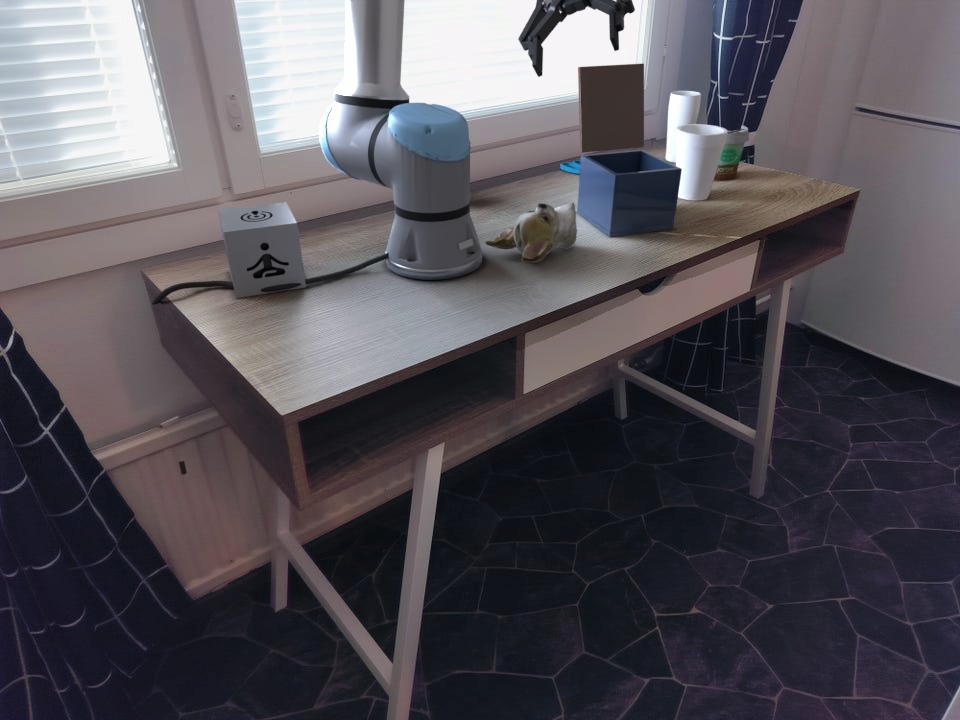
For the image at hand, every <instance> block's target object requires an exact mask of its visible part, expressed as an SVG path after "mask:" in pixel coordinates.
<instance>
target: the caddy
mask: <svg viewBox="0 0 960 720" xmlns="http://www.w3.org/2000/svg"><path fill="white" fill-rule="evenodd" d="M580 160H581V162H580V174H579V179H578V192H577V193H578V194H577V209H576V214H578V215H580V216H581V217H583V218H584V219H585V220H586V221H588V222H589V223H590V224H592V225H593V226H594V227H595V228H597V229H598V230H600V231H601V232H602V233H604V234H605V235H606V236H607V237H609V238H612V237H619V236H627V235H628V236H629V235H636V234H637V235H638V234H644V233H653V232H660V231H668V230H669V231H670V230H674V228H675V220H676V213H677V206H678V199H679V197H678V193H679V186H680V178H681V171H682V169H681V168H679V167H677V166H676V164H674V163H672V162H669V161H667V160H666V159H663V158H660V157H659V156H656V155H654V154H652V153H650V152H648V151H646V150H644V149H635V150H624V151H623V150H622V151H613V152H601V153H600V152H599V153H590V154H580Z"/></svg>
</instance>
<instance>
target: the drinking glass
mask: <svg viewBox="0 0 960 720" xmlns="http://www.w3.org/2000/svg"><path fill="white" fill-rule="evenodd" d="M701 101H702V93H701V92H699V91H694V90H673V91H671V92H670V94H669V101H668V108H667V125H666V126H667V127H666V146H665V161H667V162H669V163H671V164H676V141H675V137H676V130H677V128H678V127H679V126H682V125H686V124H698V119H699V114H700V107H701Z"/></svg>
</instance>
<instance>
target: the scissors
mask: <svg viewBox="0 0 960 720" xmlns="http://www.w3.org/2000/svg"><path fill="white" fill-rule="evenodd" d="M580 162H581V159H574V160H572V161H563V162H561V163H560V165H559V166H560V169H561V170H562V171H565V172H568V173H572V174H576V175H577V174H578V175H580Z"/></svg>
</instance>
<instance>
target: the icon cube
mask: <svg viewBox="0 0 960 720" xmlns="http://www.w3.org/2000/svg"><path fill="white" fill-rule="evenodd" d="M217 214H218V218H219V224H220V230H221V235H222V239H223V245H224V249H225V255H226V260H227V265H228V269H229V274H230V279H231V282H233V286H234V288H233V291H234V295H235V298H236V299H241V298H246V297H247V298H248V297H253V296H260V295H267V294H272V293H278V292H279V293H280V292H286V291H291V290H298V289H306V287H307V285H306V284H305V279H306V277H305V270H304V261H303V256H302V255H303V254H302V248H301V247H302V246H301V241H300V234H299V227H298V226H299V225H298V222H297V220H296V217H295V215H294V213H293V212H292V210H291V209H290V207H289V204H288V203H287V202H286V201H284V202H275V203H268V204H258V205H251V206H243V207H234V208H226V209H217ZM289 283H301V285H300V286H298V287H295V288H290V289H285V290H280V291H272V292H262V291H261V289H263V288H265V287H270V286H275V285H281V284H289Z"/></svg>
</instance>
